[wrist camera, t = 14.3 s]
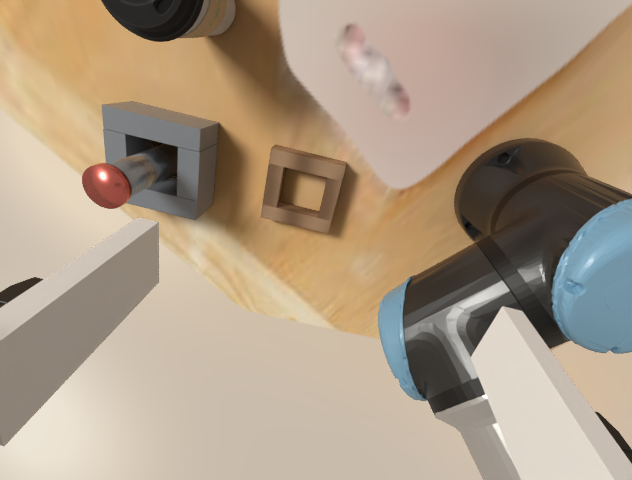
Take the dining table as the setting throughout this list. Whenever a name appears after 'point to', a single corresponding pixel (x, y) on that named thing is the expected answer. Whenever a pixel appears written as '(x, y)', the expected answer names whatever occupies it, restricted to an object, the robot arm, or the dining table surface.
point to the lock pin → (129, 175)
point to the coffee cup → (173, 17)
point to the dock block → (174, 129)
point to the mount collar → (304, 163)
